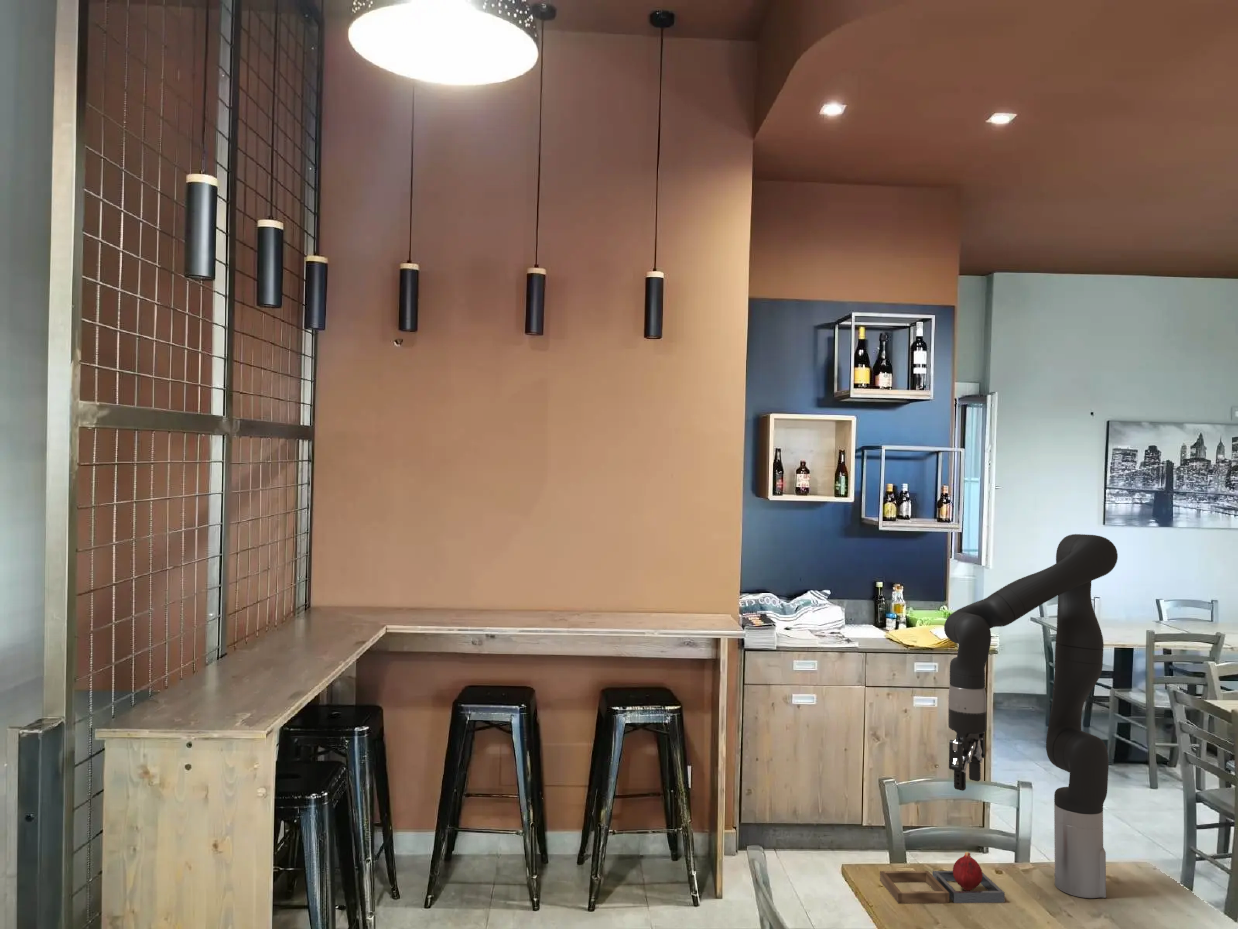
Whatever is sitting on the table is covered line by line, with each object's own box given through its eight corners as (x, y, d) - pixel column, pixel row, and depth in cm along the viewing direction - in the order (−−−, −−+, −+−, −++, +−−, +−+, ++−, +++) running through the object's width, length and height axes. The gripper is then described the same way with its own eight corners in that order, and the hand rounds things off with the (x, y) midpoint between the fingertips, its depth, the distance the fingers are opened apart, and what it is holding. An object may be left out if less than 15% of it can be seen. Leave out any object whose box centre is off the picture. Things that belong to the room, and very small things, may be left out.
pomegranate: (985, 898, 180) (985, 859, 180) (955, 895, 181) (955, 856, 181) (979, 886, 185) (979, 848, 186) (950, 884, 186) (950, 846, 187)
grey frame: (980, 880, 189) (980, 870, 189) (1004, 902, 178) (1004, 892, 178) (932, 880, 188) (932, 871, 188) (953, 903, 177) (953, 893, 178)
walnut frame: (928, 880, 188) (928, 871, 188) (949, 903, 177) (949, 893, 178) (879, 880, 187) (879, 871, 188) (898, 903, 177) (898, 893, 177)
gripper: (973, 716, 177) (973, 797, 176) (997, 705, 187) (997, 781, 187) (936, 710, 182) (936, 788, 181) (962, 699, 192) (962, 773, 192)
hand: (967, 785), depth 184 cm, fingers open, 8 cm apart
